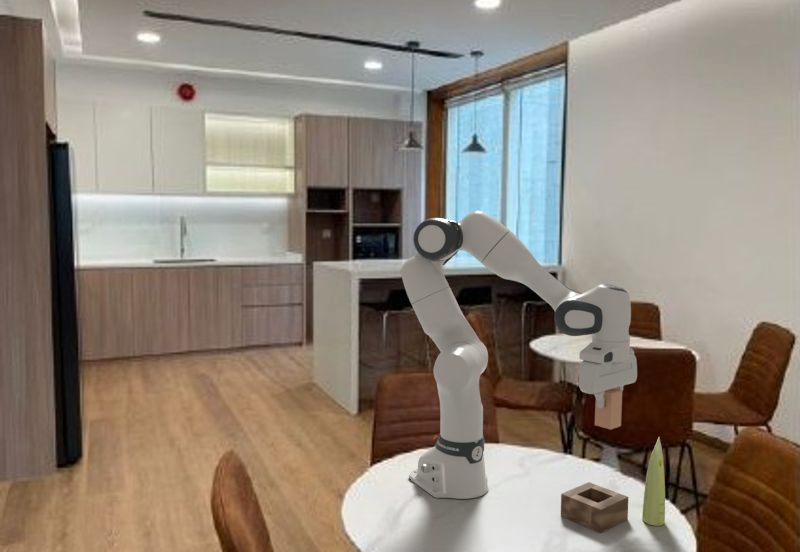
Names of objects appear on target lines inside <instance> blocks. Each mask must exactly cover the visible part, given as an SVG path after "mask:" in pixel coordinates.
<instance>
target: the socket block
mask: <svg viewBox="0 0 800 552" xmlns="http://www.w3.org/2000/svg"><path fill="white" fill-rule="evenodd" d="M560 494H561V495H560V499H561V500H560V517H562V518H565V519H567V520H570V521H571V522H573V523H576V524H579V525H581V526H584V527H586V528H588V529H590V530H592V531H594V532H597V533H599V534H602V533H604V532H606V531H608V530H610V529H611V528H613V527H615V526H617V525H619V524H621V523H623V522H626V521H627V520H628V519H629V518H628V517H629V496H627V495H625V494H622V493H619V492H617V491H614V490H612V489H609V488H605V487H603V486H600V485H597V484H595V483H592V482H586V483H584V484H581V485H579V486H576V487H573V488H572V489H569V490H567V491H564V492H562V493H560Z"/></svg>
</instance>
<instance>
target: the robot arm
mask: <svg viewBox="0 0 800 552" xmlns="http://www.w3.org/2000/svg"><path fill="white" fill-rule="evenodd" d="M413 245H414V248H415V250H416V254H415V255H414V256H412V257H410V258H409V259H407V260H406V261H405V262H404V263H403V264H402V265H401V269H400V274H401V278H402V283H403V286H404V289H405V292H406V295H407V298H408V299H409V303H410V304H411V306H412V309H413V311H414V313H415V315H416V317H417V319H418V322H419V324H420V325H421V328H422V330H423V332H424V334H426V335H427V336H429V338H430V339H431V340H432V342H433V343H434V345H435V346H436V348H438V350H439V351H440V353H439V354H438V355H437V357H436V359H435V362H434V365H433V377H434V380H435V382H436V387H437V392H438V393H437V394H438V397H439V398H438V399H439V407H440V409H439V410H440V420H439V421H440V425H439V426H440V432H439V433H436V434H435V435H434V434H433V435H432V436H433V437H434V438H433V439H432V440H436V442H435V445H434V446H433V447H431V448H430V449H428V450H427V451H425V453H422V454H421V456H420V457H419V459H418V461H417V469H415V470H413V471H411V472H410V473H409V474H408V479H409V478H410V479H411V480H410V479H409V480H410V481H411V482H413V483H415V484H416V485H417V486H418V487H420V488H421V489H422V490H424V491H426V493H428V494H429V495H431V496H432V497H433V498H437V499H438V498H439V499H442V498H443V499H445V498H449V499H460V500H462V499H463V500H465V499H467V500H469V499H474V498H479V497H481V496H483V495H486V493H487V492H488V491H489V486H488V476H487V475H486V466H485V454H484V452H485V436H484V434H483V430H484V429H483V426H484V425H483V424H484V423H483V421H484V407H483V406H484V405H483V403H482V399H481V392H480V378H481V375H482V373H484V372H485V370H486V369H487V367H488V362H489V353H488V349H487V346H486V345H485V344H484V342H482V341H481V340H480V338H479V336H478V335H477V333H476V332H475V330H474V329H473V327H472V326H471V324H470V323H469V321H468V320H467V318H466V317H465V315H464V314H463V312H462V310H461V308H460V306H459V304H458V301H457V299H456V297H455V295H454V293H453V291H452V288H451V287H450V285H449V282H448V280H447V279H446V277H445V274H444V271H443V270H444V269H443V268H444V266H445V265H446V264H447V263H448V262H449V261H450V260H451V259H453V257H455V255H457V253H458V252H459V251H464V252H466V253H468V254H470V255H472V256H473V257H474V259H476V260H477V261H478V262H479V263H481V264H482V265H483V266H484V267H485V268H486V269H488V270H489V271H490V272H492V273H493V274H495V275H497V276H498V277H500V278H501V279H504V280H509V281H514V282H517V283H521V284H523V285H525V286H526V287H527V288H529V289H531V291H533V292H534V293H536V295H538V296H539V297H540V298H541V299H542V300H543V301H545V302H546V303H547V304H549V306H551V308H552V310H554V315H553V316H554V317H553V320H554V324H555V325H556V327H557V330H559V331H560V332H561V333H563V334H564V335H567V336H569V337H581V336H587V335H591V336H592V337H591V342H590V343H589V344H588V345H586V346H585V347H584V348H583V349H581V350H580V351H579V360H580V361H581V362H580V365H579V369H578V370H579V372H578V373H579V374H578V386H579V389H580V391H581V392H582V393H585V394H589V395H594V397H595V401H596V400H597V407H598V408H605V407H606V400H604V396H603V395H604V394H605V391H606V390H609V389H613V388H614V389H618V390H622V392H623V391H624V386H626V385H630V384H634V383H636V382H637V378H638V364H637V362H638V361H637V356H636V355H635V351H634V349H633V348H632V346H630V345H631V343H630V342H631V339H630V332H629V331H630V330H629V328H630V327H631V322H632V321H631V320H632V319H631V318H632V307H631V305H632V304H631V297H630V294H629V292H628V291H627V290H626V289H625V288H622V287H620V286H617V285H613V284H608V283H607V284H606V283H600V284H597V285H596V286H595V287H593V288H592V289H589V290H587V291H585V292H581V291H577V290H573V289H571V288H568V287H567V286H566V285H565V284H563V283H562V282H561V281H560V280H558V278H556V277H555V276H554V275H552V274H551V273H550V272H549V271H547V269H545V267H543V266H542V265H541V264H540V263H539V261H538V260H537V259H536V257H534V255H533V253H531V251H530V250H529V249H528V248H527V246H526V245H525V244H524V242H523V241H522V240H521V239H520V238H519V237H518V236H517V235H516V234H515V233H514V232H513V231H511V230H510V229H508V227H506V226H505V225H504V224H502V223H501V222H500V221H499V220H497V219H495V218H494V217H493V216H491V215H489V214H487V213H486V212H484V211H481V210H475V211H472V212H470V213H468V214H466V215H465V216H464V217H463V218H462V219H461V220H460V221H459V222H457V221H454V220H449V219H447V218H443V217H430V218H427V219H425V220H423V221H421V222H420V223H419V224H418V225H417V226H416V228H415V231H414V232H413Z"/></svg>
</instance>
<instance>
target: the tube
mask: <svg viewBox="0 0 800 552" xmlns="http://www.w3.org/2000/svg"><path fill="white" fill-rule="evenodd" d="M662 448H663V447H662V443H661V439H660V437H658V438H657V441H656V443H655V445H654V448H653V450H652V452H651V454H650V458H649V460H648V461H649V462H648V467H647V471H646V475H645V482H644V483H645V485H644V493H643V504H642V519H641V520H642V521H643V522H644V523H646V524H648V525H651V526H654V527H658V526H659V527H660V526H663V525H664V524H665V523H666V522H665V520H666V486H665V483H666V481H665V480H666V479H665V467H664V465H665V464H664V455H663V450H662Z"/></svg>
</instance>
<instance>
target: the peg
mask: <svg viewBox="0 0 800 552" xmlns="http://www.w3.org/2000/svg"><path fill="white" fill-rule="evenodd" d="M603 396H604V400H606V407H605V408H598V407H597V400H596V399H595V404H594V406H595V411H594V426H596V427H600V428H602V429H603V428H604V429H608V430H614V429H616V428H619V427H621V426H622V410H623V409H622V408H623V391H622V390H618V389H614V388H613V389H609V390H606V391H605V394H604V395H603Z"/></svg>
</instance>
